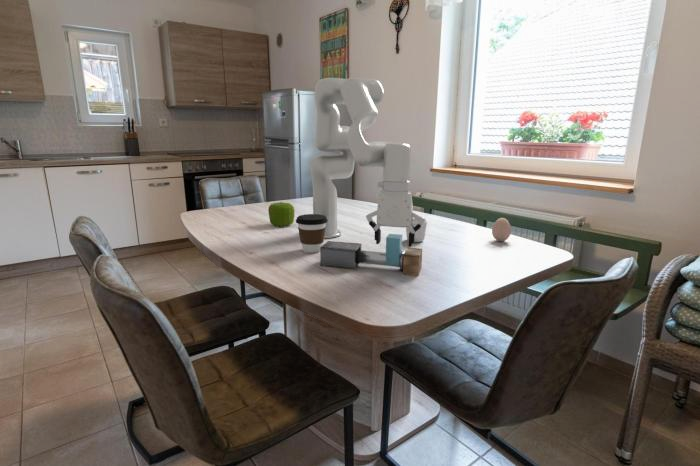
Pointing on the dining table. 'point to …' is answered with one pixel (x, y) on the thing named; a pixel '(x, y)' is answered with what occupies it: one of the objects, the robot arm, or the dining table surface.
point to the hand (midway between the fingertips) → (394, 244)
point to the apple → (281, 214)
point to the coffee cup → (311, 231)
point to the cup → (418, 231)
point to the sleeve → (339, 254)
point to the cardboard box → (412, 261)
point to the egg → (501, 229)
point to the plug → (390, 258)
